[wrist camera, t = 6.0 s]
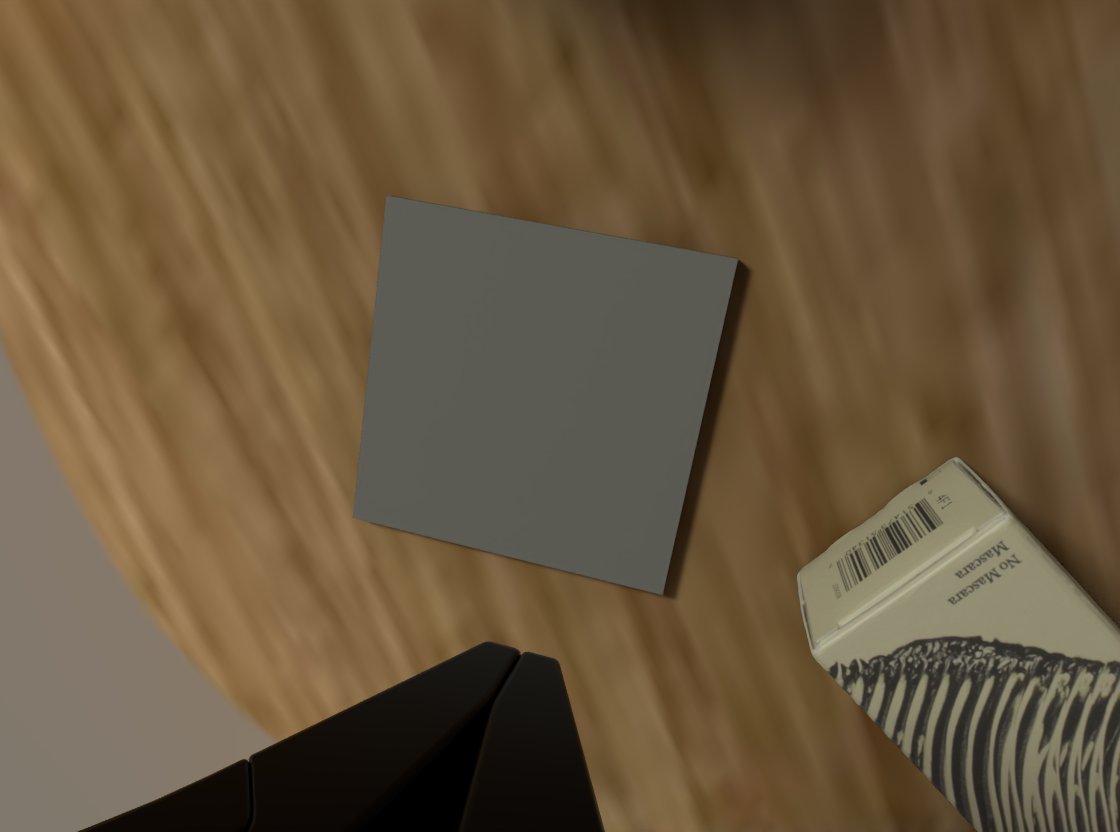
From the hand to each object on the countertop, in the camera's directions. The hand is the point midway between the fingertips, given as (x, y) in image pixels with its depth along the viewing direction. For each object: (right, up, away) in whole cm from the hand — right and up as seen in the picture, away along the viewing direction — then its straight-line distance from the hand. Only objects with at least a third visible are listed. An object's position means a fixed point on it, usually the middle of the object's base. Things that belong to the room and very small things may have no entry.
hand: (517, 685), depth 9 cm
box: (+8, 0, +9) cm, 12 cm away
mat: (0, +4, +12) cm, 13 cm away
